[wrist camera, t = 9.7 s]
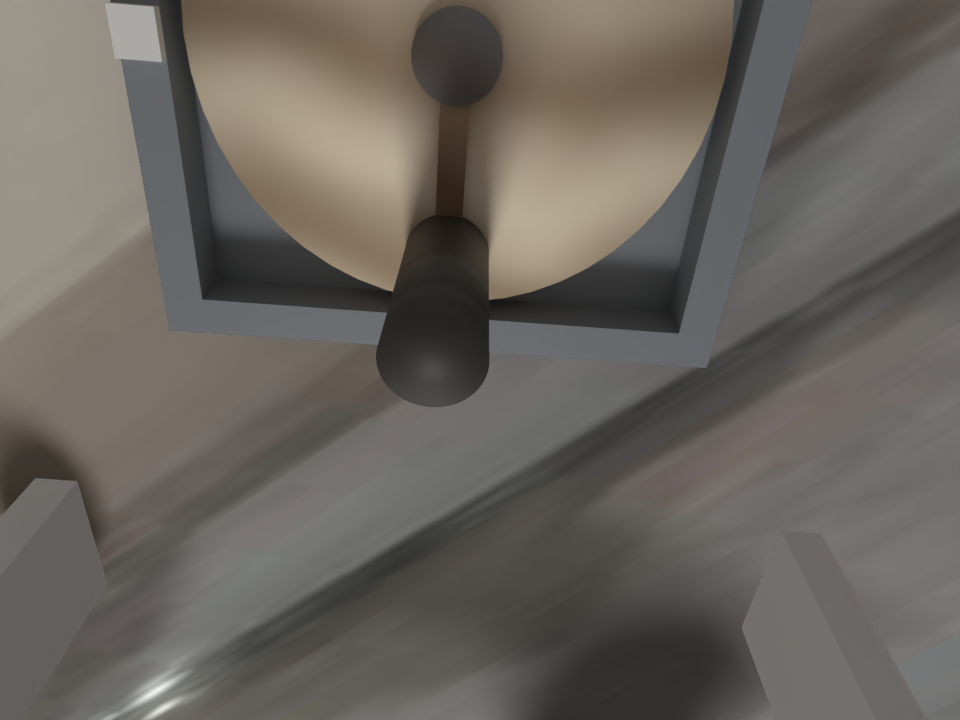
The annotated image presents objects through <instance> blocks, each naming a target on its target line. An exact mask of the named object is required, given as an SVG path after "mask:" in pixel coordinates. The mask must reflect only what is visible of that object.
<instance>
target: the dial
mask: <svg viewBox="0 0 960 720" xmlns="http://www.w3.org/2000/svg"><path fill="white" fill-rule="evenodd" d="M181 7H182V20H183V34H184V39H185V44H186V50H187V55H188V60H189V65H190V70H191V74H192V78H193V81H194V84H195V87H196V90H197V93H198V97H199V100H200V103H201V106H202V109H203V112H204V114H205V116H206V118H207V121H208V123H209V125H210V127H211V130H212V132H213V134H214V136H215V139H216V141H217V143H218V145H219V146H220V148H221V150H222V152H223V153H224V155H225V157H226V158H227V160H228V162H229V163H230V165H231V167H232V169H233V170H234V172H235V174H236V175H237V176H238V178H239V179H240V180H241V182H242V183H243V184H244V186H245V187H246V188H247V190H248V191H249V193H250V194H251V195H252V197H253V198H254V199H255V201H256V202H257V203H258V204H259V205H260V206H261V207H262V208H263V209H264V210H265V211H266V212H267V214H268V215H269V216H270V217H271V218H272V219H273V220H274V221H275V222H276V223H277V224H278V225H279V226H280V227H281V228H282V229H283V230H284V231H286V232H287V233H288V234H289V235H290V236H291V237H293V238H294V239H295V240H296V241H297V242H299V243H300V244H301V245H302V246H303V247H304V248H306V249H307V250H309V251H310V252H312V253H313V254H315V255H316V256H318V257H319V258H321V259H322V260H324V261H325V262H327V263H328V264H330V265H331V266H333V267H335V268H337V269H339V270H341V271H343V272H345V273H347V274H349V275H351V276H353V277H355V278H357V279H359V280H361V281H364V282H367V283H369V284H372V285H374V286H377V287H380V288H382V289H385V290H388V291H392V292H393V293H392V296H391V300H390V304H389V307H388V311H387V314H386V318H385V321H384V325H383V328H382V332H381V335H380V339H379V343H378V347H377V352H376V360H377V366H378V370H379V373H380V375H381V377H382V379H383V381H384V382H385V383H386V385H387V386H388V387H389V388H390V389H391V390H392V391H393V392H394V393H395V394H397V395H398V396H400V397H401V398H403V399H405V400H407V401H409V402H411V403H414V404H417V405H421V406H427V407H443V406H449V405H453V404H456V403H459V402H461V401H463V400H465V399H466V398H468V397H470V396H471V395H472V394H473V393H475V392H476V391H477V390H478V388H479V387H480V386H481V385H482V383H483V382H484V380H485V378H486V375H487V372H488V368H489V300H492V299H502V298H507V297H511V296H516V295H520V294H524V293H529V292H533V291H536V290H538V289H541V288H544V287H547V286H550V285H552V284H555V283H558V282H561V281H563V280H565V279H567V278H569V277H571V276H573V275H575V274H577V273H579V272H581V271H583V270H585V269H587V268H589V267H590V266H592V265H593V264H595V263H596V262H598V261H599V260H601V259H602V258H604V257H605V256H607V255H608V254H610V253H611V252H613V251H614V250H616V249H617V248H618V247H619V246H620V245H622V244H623V243H624V242H625V241H626V240H627V239H629V238H630V237H631V236H632V235H633V234H635V233H636V232H637V231H638V230H639V229H640V228H641V227H642V226H643V225H644V224H645V223H646V222H647V221H648V220H649V219H650V218H651V217H652V215H653V214H654V213H655V212H656V211H657V210H658V209H659V208H660V207H661V206H662V205H663V203H664V202H665V200H666V199H667V198H668V196H669V195H670V194H671V192H672V191H673V190H674V188H675V187H676V186H677V184H678V183H679V182H680V180H681V179H682V177H683V176H684V174H685V172H686V170H687V169H688V167H689V165H690V164H691V162H692V160H693V158H694V157H695V155H696V153H697V151H698V150H699V148H700V146H701V143H702V141H703V139H704V136H705V134H706V132H707V130H708V127H709V125H710V123H711V120H712V118H713V116H714V113H715V110H716V106H717V103H718V100H719V96H720V93H721V90H722V86H723V83H724V80H725V75H726V70H727V64H728V58H729V53H730V47H731V42H732V29H733V12H734V0H181Z"/></svg>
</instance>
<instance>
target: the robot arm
mask: <svg viewBox="0 0 960 720" xmlns="http://www.w3.org/2000/svg"><path fill="white" fill-rule="evenodd" d="M106 586H107V582H106V578H105V575H104V571H103V568H102V564H101V561H100V557H99V554H98V551H97V547H96V544H95V540H94V537H93V533H92V530H91V526H90V523H89V520H88V516H87V513H86V509H85V506H84V502H83V499H82V495H81V492H80V489H79V485H78V482H77V481H69V480H55V479H40V478H35V479H34V480H33V481H32V482H31V484H30V485H29V486H28V487H27V488H26V489H25V490H24V491H23V492H22V494H21V495H20V496H19V497H18V498H17V499H16V500H15V501H14V503H13V504H12V505H11V506H10V507H9V508H8V509H7V510H6V512H5V513H4V514H3V515H2V516H1V517H0V720H23V719H24V718H25V716H26V714H27V713H28V711H29V710H30V708H31V706H32V705H33V703H34V702H35V700H36V698H37V697H38V695H39V694H40V692H41V690H42V689H43V687H44V686H45V684H46V682H47V681H48V679H49V678H50V676H51V674H52V673H53V671H54V670H55V668H56V666H57V665H58V663H59V662H60V660H61V658H62V657H63V655H64V654H65V652H66V650H67V649H68V647H69V646H70V644H71V642H72V641H73V639H74V638H75V636H76V634H77V633H78V631H79V630H80V628H81V626H82V625H83V623H84V622H85V620H86V618H87V617H88V615H89V614H90V612H91V610H92V609H93V607H94V606H95V604H96V602H97V601H98V599H99V598H100V596H101V594H102V593H103V591H104V590H105V588H106ZM741 628H742V631H743V633H744V636H745V639H746V642H747V644H748V647H749V650H750V652H751V655H752V658H753V660H754V663H755V666H756V669H757V671H758V674H759V677H760V679H761V682H762V685H763V688H764V690H765V693H766V696H767V698H768V701H769V704H770V706H771V709H772V712H773V715H774V717H775V720H927V719H926V717H925V715H924V714H923V712H922V710H921V708H920V707H919V705H918V703H917V701H916V700H915V698H914V696H913V694H912V693H911V691H910V689H909V687H908V686H907V684H906V682H905V680H904V679H903V677H902V675H901V673H900V672H899V670H898V668H897V666H896V664H895V663H894V661H893V659H892V657H891V656H890V654H889V652H888V650H887V649H886V647H885V645H884V643H883V642H882V640H881V638H880V636H879V635H878V633H877V631H876V629H875V628H874V626H873V624H872V622H871V621H870V619H869V617H868V615H867V614H866V612H865V610H864V608H863V607H862V605H861V603H860V601H859V600H858V598H857V596H856V594H855V593H854V591H853V589H852V587H851V586H850V584H849V582H848V580H847V579H846V577H845V575H844V573H843V572H842V570H841V568H840V566H839V564H838V563H837V561H836V559H835V557H834V556H833V554H832V552H831V550H830V549H829V547H828V545H827V543H826V542H825V540H824V538H823V536H822V535H821V534H818V533H804V532H790V531H781V532H780V534H779V537H778V539H777V541H776V544H775V546H774V549H773V551H772V554H771V556H770V559H769V561H768V564H767V566H766V568H765V571H764V573H763V576H762V578H761V581H760V583H759V586H758V588H757V591H756V593H755V595H754V598H753V600H752V603H751V605H750V608H749V610H748V613H747V615H746V618H745V620H744V622H743V625H742V627H741Z"/></svg>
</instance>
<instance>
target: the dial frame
mask: <svg viewBox="0 0 960 720" xmlns="http://www.w3.org/2000/svg"><path fill="white" fill-rule="evenodd" d="M811 4H812V0H734V12H733V29H732V42H731V47H730V53H729V58H728V64H727V70H726V75H725V80H724V83H723V86H722V90H721V93H720V96H719V100H718V103H717V106H716V110H715V113H714V116H713V118H712V120H711V123H710V125H709V127H708V130H707V132H706V134H705V136H704V139H703V141H702V143H701V146H700V148H699V150H698V151H697V153H696V155H695V157H694V158H693V160H692V162H691V164H690V165H689V167H688V169H687V170H686V172H685V174H684V176H683V177H682V179H681V180H680V182H679V183H678V184H677V186H676V187H675V188H674V190H673V191H672V192H671V194H670V195H669V196H668V198H667V199H666V200H665V202H664V203H663V205H662V206H661V207H660V208H659V209H658V210H657V211H656V212H655V213H654V214H653V215H652V217H651V218H650V219H649V220H648V221H647V222H646V223H645V224H644V225H643V226H642V227H641V228H640V229H639V230H638V231H637V232H636V233H635V234H633V235H632V236H631V237H630V238H629V239H627V240H626V241H625V242H624V243H623V244H622V245H620V246H619V247H618V248H617V249H616V250H614V251H613V252H611V253H610V254H608V255H607V256H605V257H604V258H602V259H601V260H599V261H598V262H596V263H595V264H593V265H592V266H590V267H589V268H587V269H585V270H583V271H581V272H579V273H577V274H575V275H573V276H571V277H569V278H567V279H565V280H563V281H561V282H558V283H555V284H552V285H550V286H547V287H544V288H541V289H538V290H536V291H533V292H529V293H524V294H520V295H516V296H511V297H507V298H502V299H492V300H489V353H500V354H514V355H529V356H543V357H557V358H571V359H586V360H600V361H614V362H629V363H643V364H657V365H672V366H686V367H700V368H707V365H708V361H709V358H710V355H711V351H712V348H713V344H714V341H715V337H716V334H717V330H718V327H719V323H720V320H721V316H722V313H723V309H724V306H725V302H726V299H727V295H728V292H729V289H730V285H731V282H732V278H733V275H734V271H735V268H736V264H737V261H738V257H739V254H740V250H741V247H742V243H743V240H744V236H745V233H746V229H747V226H748V222H749V219H750V216H751V212H752V209H753V205H754V202H755V198H756V195H757V191H758V188H759V184H760V181H761V177H762V174H763V170H764V167H765V163H766V160H767V156H768V153H769V150H770V146H771V143H772V139H773V136H774V132H775V129H776V125H777V122H778V118H779V115H780V111H781V108H782V104H783V101H784V97H785V94H786V90H787V87H788V83H789V80H790V77H791V73H792V70H793V66H794V63H795V59H796V56H797V52H798V49H799V45H800V42H801V38H802V35H803V31H804V28H805V24H806V21H807V17H808V14H809V11H810V7H811ZM105 6H106V12H107V17H108V23H109V28H110V34H111V39H112V45H113V50H114V56H115V58H116V59H121V61H122V67H123V72H124V78H125V83H126V89H127V95H128V100H129V106H130V111H131V117H132V122H133V128H134V134H135V139H136V145H137V150H138V156H139V162H140V167H141V173H142V178H143V184H144V190H145V195H146V201H147V206H148V212H149V218H150V223H151V229H152V234H153V240H154V245H155V251H156V257H157V262H158V268H159V273H160V279H161V285H162V290H163V296H164V301H165V307H166V313H167V318H168V324H169V329H170V330H171V331H185V332H200V333H214V334H228V335H243V336H257V337H271V338H285V339H300V340H314V341H328V342H343V343H357V344H371V345H378V343H379V339H380V335H381V332H382V328H383V325H384V321H385V318H386V314H387V311H388V307H389V304H390V300H391V296H392V293H393V292H392V291H388V290H385V289H382V288H380V287H377V286H374V285H372V284H369V283H367V282H364V281H361V280H359V279H357V278H355V277H353V276H351V275H349V274H347V273H345V272H343V271H341V270H339V269H337V268H335V267H333V266H331V265H330V264H328V263H327V262H325V261H324V260H322V259H321V258H319V257H318V256H316V255H315V254H313V253H312V252H310V251H309V250H307V249H306V248H304V247H303V246H302V245H301V244H300V243H299V242H297V241H296V240H295V239H294V238H293V237H291V236H290V235H289V234H288V233H287V232H286V231H284V230H283V229H282V228H281V227H280V226H279V225H278V224H277V223H276V222H275V221H274V220H273V219H272V218H271V217H270V216H269V215H268V214H267V212H266V211H265V210H264V209H263V208H262V207H261V206H260V205H259V204H258V203H257V202H256V201H255V199H254V198H253V197H252V195H251V194H250V193H249V191H248V190H247V188H246V187H245V186H244V184H243V183H242V182H241V180H240V179H239V178H238V176H237V175H236V174H235V172H234V170H233V169H232V167H231V165H230V163H229V162H228V160H227V158H226V157H225V155H224V153H223V152H222V150H221V148H220V146H219V145H218V143H217V141H216V139H215V136H214V134H213V132H212V130H211V127H210V125H209V123H208V121H207V118H206V116H205V114H204V112H203V109H202V106H201V103H200V100H199V97H198V93H197V90H196V87H195V84H194V81H193V78H192V74H191V70H190V65H189V60H188V55H187V50H186V44H185V39H184V34H183V20H182V7H181V0H111V2H106V3H105Z"/></svg>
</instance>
